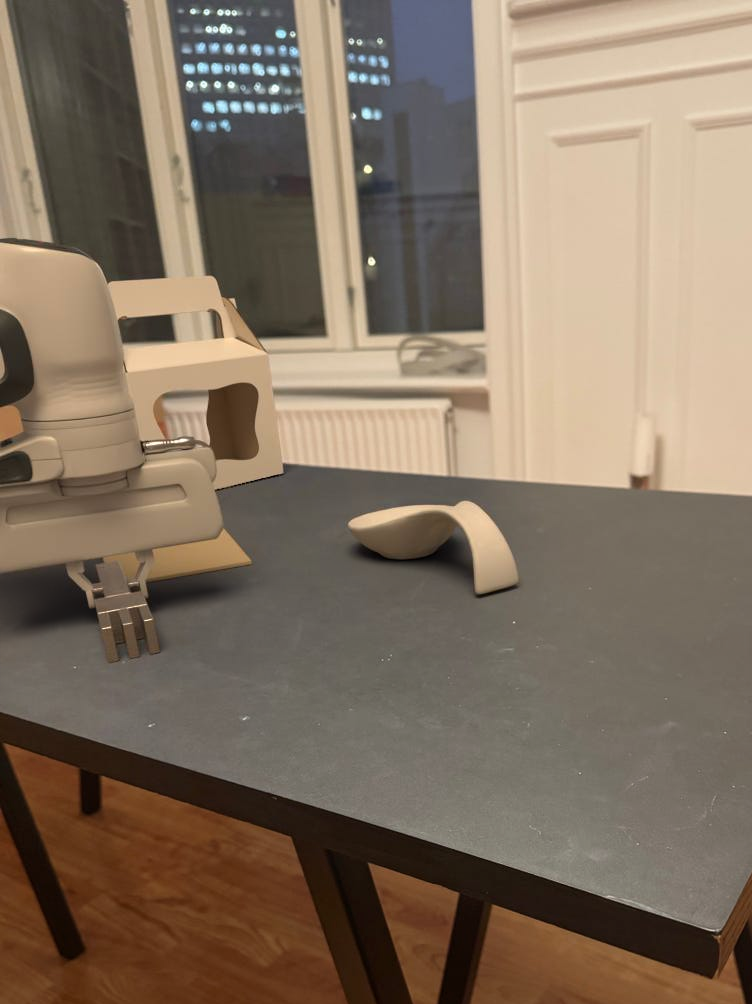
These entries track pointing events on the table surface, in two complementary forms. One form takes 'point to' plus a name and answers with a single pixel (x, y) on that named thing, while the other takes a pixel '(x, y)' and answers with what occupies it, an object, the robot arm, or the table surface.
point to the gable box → (205, 375)
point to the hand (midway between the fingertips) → (118, 601)
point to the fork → (123, 614)
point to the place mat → (187, 559)
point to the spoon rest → (440, 538)
